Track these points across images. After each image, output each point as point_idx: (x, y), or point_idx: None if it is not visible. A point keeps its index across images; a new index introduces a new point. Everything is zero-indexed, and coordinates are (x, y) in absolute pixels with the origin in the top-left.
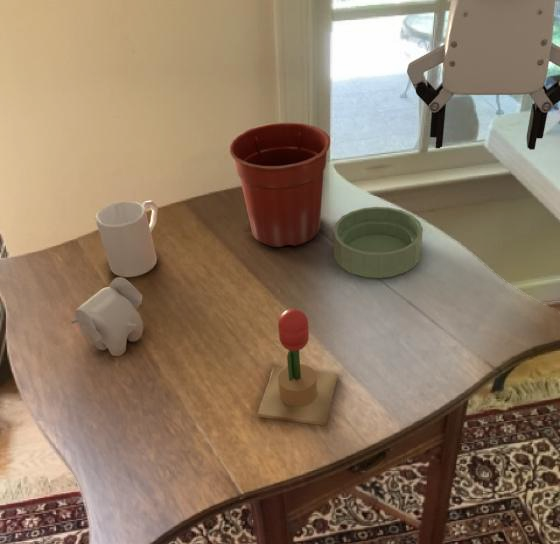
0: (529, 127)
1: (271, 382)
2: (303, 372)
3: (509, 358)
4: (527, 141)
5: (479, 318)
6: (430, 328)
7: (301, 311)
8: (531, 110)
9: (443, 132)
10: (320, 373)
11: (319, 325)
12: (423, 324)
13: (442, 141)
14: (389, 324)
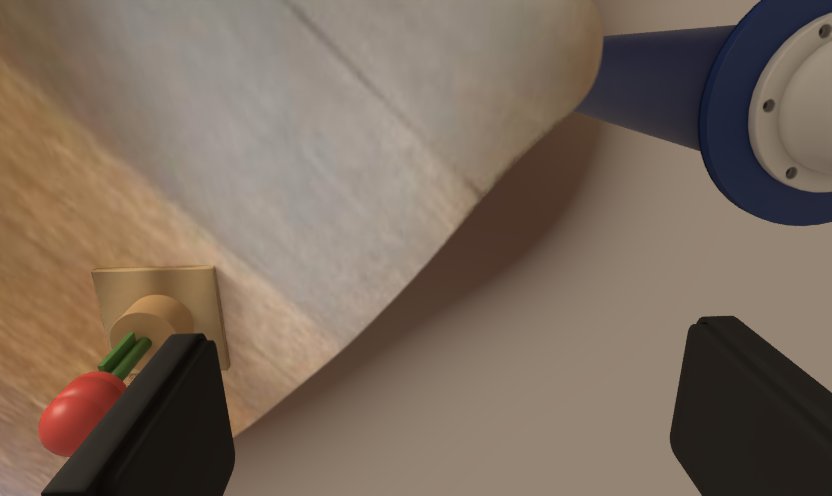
0: (728, 430)
1: (105, 308)
2: (151, 331)
3: (509, 164)
4: (683, 404)
5: (455, 48)
6: (357, 100)
7: (77, 424)
8: (802, 449)
9: (206, 385)
10: (181, 273)
11: (128, 129)
12: (342, 89)
13: (224, 488)
14: (272, 101)
